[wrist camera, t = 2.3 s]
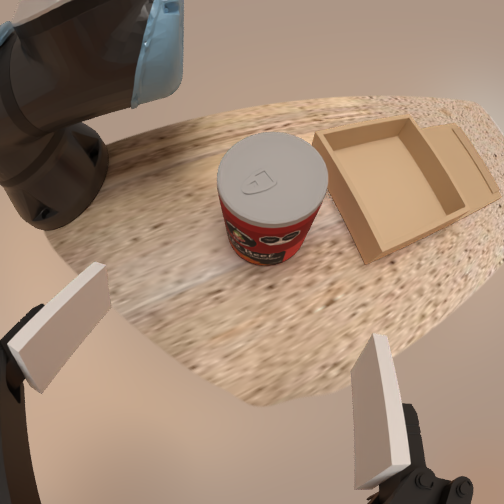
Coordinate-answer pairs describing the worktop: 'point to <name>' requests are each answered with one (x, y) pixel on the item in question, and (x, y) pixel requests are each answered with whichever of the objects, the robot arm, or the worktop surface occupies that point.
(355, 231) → the mailer box
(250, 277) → the worktop surface
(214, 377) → the worktop surface
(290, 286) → the worktop surface
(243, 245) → the canned food
